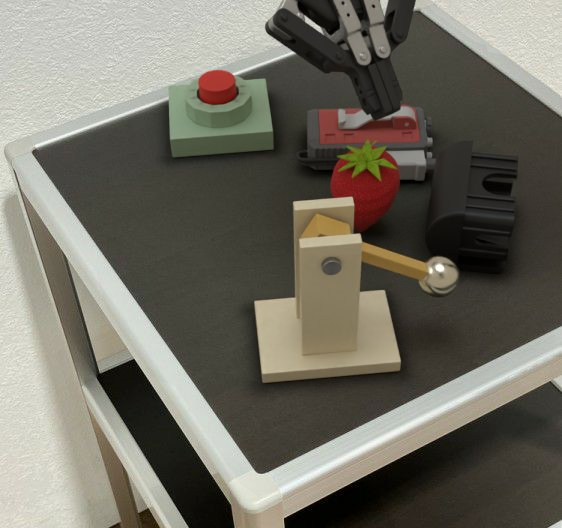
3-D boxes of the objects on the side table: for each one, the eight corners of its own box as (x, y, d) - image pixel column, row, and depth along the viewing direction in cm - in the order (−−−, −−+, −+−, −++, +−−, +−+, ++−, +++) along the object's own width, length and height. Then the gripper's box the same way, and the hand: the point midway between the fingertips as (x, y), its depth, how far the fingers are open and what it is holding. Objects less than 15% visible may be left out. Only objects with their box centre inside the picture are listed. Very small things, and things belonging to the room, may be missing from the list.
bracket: (384, 299, 82) (393, 179, 72) (400, 371, 77) (412, 253, 67) (254, 310, 82) (246, 191, 72) (262, 383, 76) (254, 266, 67)
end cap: (431, 195, 90) (438, 135, 85) (508, 203, 89) (520, 143, 84) (420, 269, 84) (427, 209, 79) (502, 278, 83) (515, 219, 78)
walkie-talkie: (296, 187, 92) (508, 182, 91) (295, 149, 88) (515, 144, 88) (295, 130, 97) (495, 126, 97) (294, 92, 94) (501, 87, 93)
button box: (266, 96, 101) (264, 62, 98) (273, 149, 95) (272, 115, 92) (170, 103, 101) (166, 70, 98) (172, 157, 95) (167, 123, 92)
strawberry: (403, 207, 89) (411, 116, 82) (385, 262, 85) (393, 171, 77) (341, 197, 91) (343, 106, 83) (320, 250, 86) (321, 159, 78)
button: (235, 83, 96) (234, 68, 95) (237, 104, 94) (236, 89, 93) (199, 86, 96) (197, 71, 95) (200, 107, 94) (198, 92, 93)
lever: (440, 281, 78) (463, 254, 75) (448, 310, 75) (472, 283, 73) (297, 235, 72) (318, 204, 70) (302, 264, 70) (323, 234, 68)
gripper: (234, -118, 63) (332, 133, 66) (400, -166, 67) (486, 73, 70) (204, -70, 70) (293, 155, 73) (356, -116, 74) (435, 99, 77)
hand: (387, 114), depth 72 cm, fingers closed
